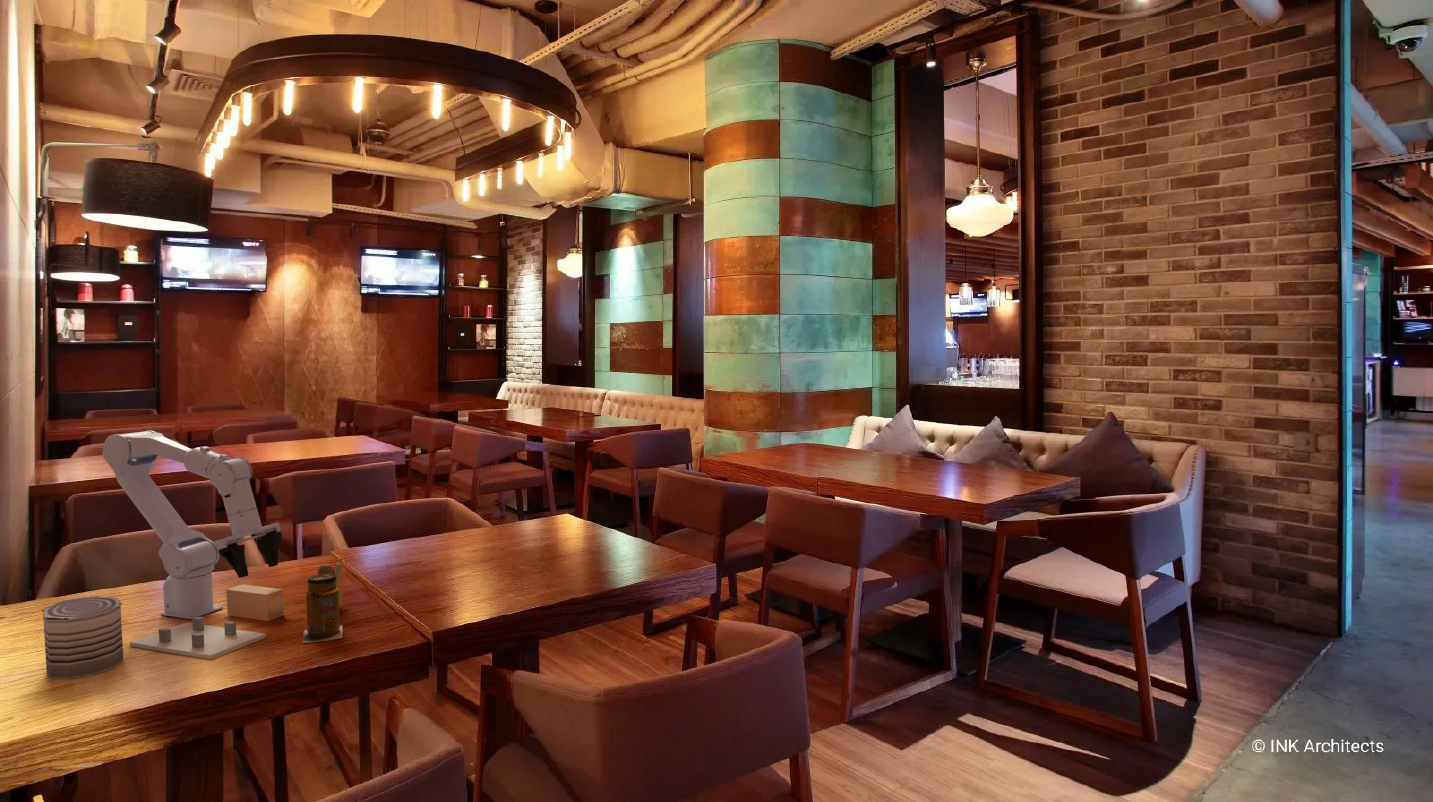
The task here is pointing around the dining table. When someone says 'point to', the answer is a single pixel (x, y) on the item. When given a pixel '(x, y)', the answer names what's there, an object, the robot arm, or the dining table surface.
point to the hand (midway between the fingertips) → (259, 571)
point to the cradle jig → (198, 639)
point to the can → (82, 637)
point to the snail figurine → (332, 572)
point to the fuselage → (255, 602)
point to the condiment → (322, 609)
